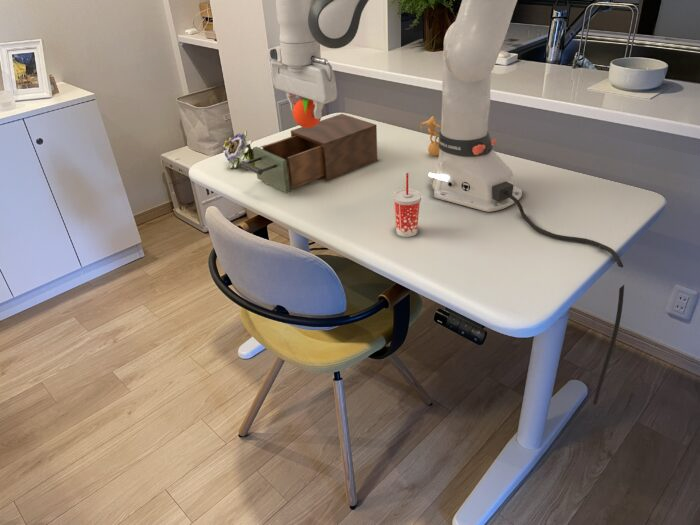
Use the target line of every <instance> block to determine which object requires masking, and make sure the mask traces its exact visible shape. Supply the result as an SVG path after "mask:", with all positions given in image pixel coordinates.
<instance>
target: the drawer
mask: <svg viewBox="0 0 700 525" xmlns="http://www.w3.org/2000/svg"><path fill="white" fill-rule="evenodd" d="M264 145H265V146H264ZM264 145H261V146H262V147H260V146H254V147H252V149H253V153H254V159H253V160H250V161H248V160H241V161H240V166H241V167H242V168H245V169H247V170H249V171H251V172H253V173H254V174H256V179H257V180H260V181H262V182H264V184H267V185H269V186H271V187H273V188H275V189H277V190H279V191H280V192H282V193H285V194H289V193H291V189H295V188H297V187H300V186H302V185H304V184H307V183H310V182H313V181H315V180H318V179H321V178H320V177H322V176H325V169H324V157H323V146H322V145H319V144H317V143H314V142H312V141H309V140H306V139H304V138H301V137H299V136H296V135H295V136H292V137H291V136H289V137H286V138H283V139H280V140H277V141H274V142H271V143H268V144H264ZM259 147H260V148H259ZM253 162H255V166H256V167H255V166H253V165H251V164H250V163H253Z"/></svg>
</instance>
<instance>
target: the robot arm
mask: <svg viewBox="0 0 700 525" xmlns="http://www.w3.org/2000/svg"><path fill="white" fill-rule="evenodd" d="M369 1H370V0H275V13H276V21H277V23H278V26H279V37H278V40H279V45H276V46H274V47H271V48H269V49H267V55H268V58H269V60H270V62H269V63H270V64H269V67H270V75H271V81H272V84H273V86H274V88H275V89H276V90H280V91H282V92H285V97H286V98H287V100H288V102H289V104H290V111H292V112H293V108H294V106H295V104H296V102H298V101H299V100H298V99H297V96H298V97H302V98H308V99H311V100H313V103H314V105H315V108H314V110H313V111H312V117H313V118H315V119H319V118H321V119H322V117H323V110H324V109H323V108H324V106H325V104H329V103H333V102H336V100H337V98H338V89H337V88H338V87H337V82H336V76H335V71H334V69H333V67H332V65H331V64H330V62H329V60H328V59H327V58H323V57H322V56H321V46H323V47H324V48H328V49H334V50H335V49H341V48H344V47H346V46H347V45H349V44H351V42H353V40H354V39H355V37H356V36H357V33H358V30H359V26H360V22H361V18H362V13H363V11H364V9H365V7H366V5H367V4H368V2H369ZM517 3H518V0H461V3H460V5H459V6H460V7H459V10H458V11H457V12H458V13H457V14H456V15H457V16H456V18H455V21H454V22H453V23H451V24H450V26H449V27H448V28H447V29H446V32H445V35H444V38H443V51H442V52H443V55H442V56H443V57H442V90H441V91H442V93H441V117H440V126H441V129H440V130H439V132H438V134H439V135H438V139H437V140H438V141H437V142H439V143H438V146H439V148H440V151H439V155H438V158H437V159H438V160H437V166H436V169H435V170H436V171H435V173H432V172H429V173H428V177H429V178H433V181H432V184H431V187H432V190H433V191H434V192H433V197H434V198H435V199H437V200H442V201H445V202H450V203H453V204H456V205H460V206H464V207H468V208H471V209H475V210H479V211H483V212H487V213H490V212H491V213H492V212H497V211H501V210H503V209H506V208H508V207H510V206H513V205H514V204H516V206H517V208H518V211H519V214H520V215H521V217H522V218H523V219H524V221H525V222H526V223H527V224H528V225H529V226H530V227H531V228H532V229H533V230H535V231H536V232H537V233H540V234H542V235H545V236H548V237H550V238H553V239H556V240H562V241H568V242H570V241H571V242H577V243H584V244H587V245H592V246H594V247H597V248H599V249H601V250H603V251H606V252H608V253H609V254H610V255H611V256H612V257H613V259H614V260H615V261H616V265H617V267H619V268H624V264H623V262H622V260H621V258H620V256H619V254H617V252H616V251H615V250H614V249H613V248H611V247H609V246H608V245H605V244H603V243H600V242H598V241H596V240H593V239H588V238H584V237H578V236H577V237H576V236H569V235H563V234H557V233H553V232H550V231H548V230H545V229H543V228H542V227H540V226H537V225H536V224H534V222H532V221H531V219H530V218H529V216H527V214H526V212H525V211H524V208H523V205H522V203H521V202H520V201H519V200H520V199H522V196H523V190H522V189H521V188H519V187H518V186H515V185H514V175H513V171H512V169H511V168H510V167H509V166H508V165H507V164H506V163H505V161H504V160H502V158H501V157H500V156H499V154H498V153H496V151H495V150H494V148H493V145H496V144H497V138H493V139H491V135H490V132H489V121H490V110H491V82H492V80H491V76H492V71H493V70H494V68H495V66H496V63H497V60H498V57H499V54H500V52H501V49H502V48H503V44H504V42H505V39H506V36H507V33H508V29H509V27H510V24H511V21H512V18H513V15H514V11H515V8H516V6H517ZM618 289H619V290H618V301H617V310H616V316H615V322H614V326H613V331H612V335H611V339H610V342H609V346H608V350H607V353H606V356H605V359H604V362H603V366H602V369H601V372H600V375H599V379H598V381H597V386H596V390H595V392H594V396H593V401H592V405H595V406H597V405H598V401H599V397H600V394H601V390H602V387H603V383H604V380H605V377H606V373H607V370H608V366H609V364H610V361H611V359H612V355H613V351H614V347H615V344H616V340H617V336H618V333H619V328H620V324H621V318H622V313H623V305H624V296H625V295H624V294H625V284H622V286H621V287H619V288H618Z"/></svg>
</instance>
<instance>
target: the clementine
mask: <svg viewBox="0 0 700 525" xmlns="http://www.w3.org/2000/svg"><path fill="white" fill-rule="evenodd" d="M297 101H298V102H296V104H295V106H294V108H293V111H292V117H293V120H294V121H295V123H296V124H297V125H298V126H300V128H301V127H304V128H311V127H314V126H315V125H317V124H318V123H319V121H322V120H321V119H322V117H321V118H319V119H315V118H313V117H312V111H313V110H314V108H315V105H314V103H313V100H311V99H308V98H304V97H302V98H300V99H299V100H297Z"/></svg>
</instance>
